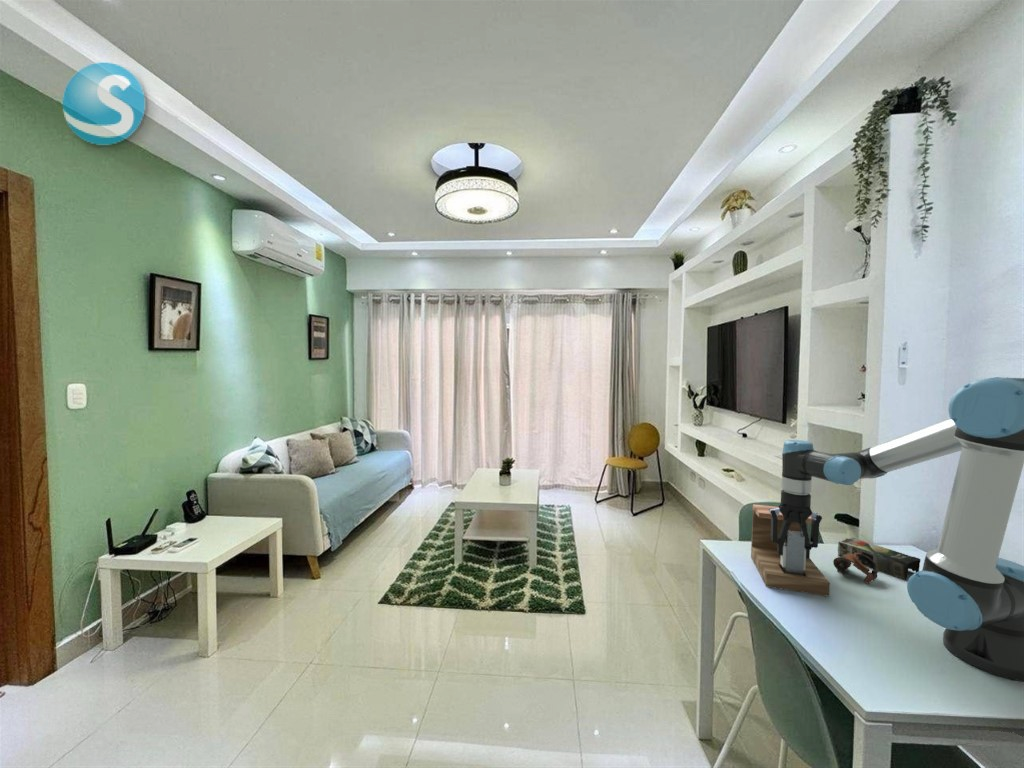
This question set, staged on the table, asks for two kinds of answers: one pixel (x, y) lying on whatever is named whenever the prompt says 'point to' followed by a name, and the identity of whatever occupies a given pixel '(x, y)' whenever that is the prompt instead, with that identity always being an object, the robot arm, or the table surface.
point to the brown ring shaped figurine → (856, 565)
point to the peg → (794, 553)
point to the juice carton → (880, 557)
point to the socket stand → (769, 558)
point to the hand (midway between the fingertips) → (792, 566)
